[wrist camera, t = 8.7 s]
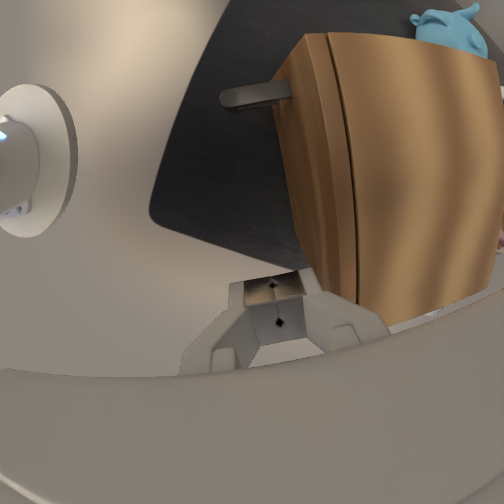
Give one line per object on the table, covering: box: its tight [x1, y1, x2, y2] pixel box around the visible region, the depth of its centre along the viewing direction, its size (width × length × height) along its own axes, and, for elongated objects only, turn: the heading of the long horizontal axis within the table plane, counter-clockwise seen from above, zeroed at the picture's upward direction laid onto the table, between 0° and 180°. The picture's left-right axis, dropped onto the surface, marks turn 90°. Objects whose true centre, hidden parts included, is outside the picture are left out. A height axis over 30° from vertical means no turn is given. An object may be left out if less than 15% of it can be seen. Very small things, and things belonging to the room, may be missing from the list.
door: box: [219, 33, 356, 304], centre depth 26 cm, size 7×22×22 cm, turn 12°
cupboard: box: [325, 33, 504, 327], centre depth 25 cm, size 16×22×22 cm
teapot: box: [410, 2, 488, 59], centre depth 21 cm, size 13×14×11 cm
